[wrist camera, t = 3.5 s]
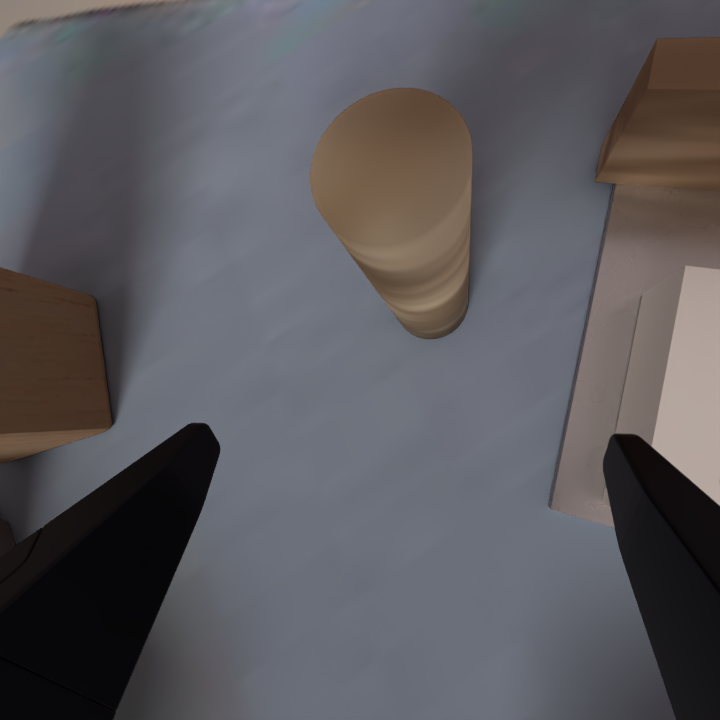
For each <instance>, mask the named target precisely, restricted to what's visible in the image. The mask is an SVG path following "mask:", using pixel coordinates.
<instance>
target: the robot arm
mask: <svg viewBox="0 0 720 720" xmlns="http://www.w3.org/2000/svg"><path fill="white" fill-rule="evenodd" d="M219 454H220V444H219V442H218V441H217V439H216V437H215V435H214V434H213V432H212V430H211V429H210V427H209V426H208V425H207V424H206V423H190V424H188V425H187V426H185V427H184V428H182V429H181V430H180V431H178V432H177V433H175V434H174V435H172V436H171V437H170V438H168V439H167V440H165V441H164V442H163V443H161V444H160V445H158V446H157V447H155V448H154V449H153V450H151V451H150V452H148V453H147V454H145V455H144V456H143V457H141V458H140V459H138V460H137V461H136V462H134V463H133V464H131V465H130V466H128V467H127V468H126V469H124V470H123V471H121V472H120V473H118V474H117V475H116V476H114V477H113V478H111V479H110V480H109V481H107V482H106V483H104V484H103V485H101V486H100V487H99V488H97V489H96V490H94V491H93V492H91V493H90V494H89V495H87V496H86V497H84V498H83V499H82V500H80V501H79V502H77V503H76V504H74V505H73V506H72V507H70V508H69V509H67V510H66V511H64V512H63V513H62V514H60V515H59V516H57V517H56V518H55V519H53V520H52V521H50V522H49V523H47V524H46V525H45V526H44V527H43V528H40V529H39V530H37V531H36V532H35V533H33V534H32V535H30V536H29V537H28V538H26V539H25V540H23V541H22V542H20V543H19V544H17V545H16V546H15V547H13V548H12V549H10V550H9V551H7V552H6V553H4V554H3V555H1V556H0V720H113V718H114V716H115V713H116V711H115V710H117V708H118V706H119V703H120V701H121V699H122V696H123V694H124V692H125V689H126V687H127V685H128V682H129V680H130V678H131V675H132V673H133V671H134V668H135V666H136V664H137V661H138V659H139V656H140V654H141V652H142V649H143V647H144V645H145V642H146V640H147V638H148V635H149V633H150V631H151V628H152V626H153V624H154V621H155V619H156V617H157V614H158V612H159V610H160V607H161V605H162V602H163V600H164V598H165V595H166V593H167V591H168V588H169V586H170V584H171V581H172V579H173V577H174V574H175V572H176V570H177V567H178V565H179V563H180V560H181V558H182V556H183V553H184V551H185V548H186V546H187V544H188V541H189V539H190V537H191V534H192V532H193V530H194V527H195V525H196V523H197V520H198V518H199V515H200V513H201V510H202V508H203V505H204V502H205V499H206V496H207V492H208V489H209V486H210V483H211V480H212V477H213V473H214V470H215V467H216V464H217V461H218V458H219ZM603 473H604V478H605V483H606V488H607V493H608V498H609V503H610V507H611V512H612V517H613V522H614V527H615V532H616V536H617V541H618V545H619V549H620V552H621V555H622V559H623V562H624V565H625V568H626V571H627V574H628V577H629V580H630V583H631V586H632V589H633V592H634V595H635V598H636V601H637V604H638V607H639V610H640V613H641V616H642V619H643V622H644V625H645V628H646V631H647V634H648V637H649V640H650V643H651V646H652V649H653V652H654V655H655V658H656V661H657V664H658V667H659V670H660V673H661V676H662V679H663V682H664V685H665V688H666V691H667V694H668V697H669V700H670V703H671V706H672V709H673V712H674V715H675V718H676V720H720V505H719V504H717V503H716V502H715V501H714V500H713V499H712V498H710V497H709V496H708V495H707V494H706V493H705V492H704V491H702V490H701V489H700V488H699V487H698V486H697V485H696V484H694V483H693V482H692V481H691V480H690V479H689V478H687V477H686V476H685V475H684V474H683V473H682V472H681V471H679V470H678V469H677V468H676V467H675V466H674V465H672V464H671V463H670V462H669V461H668V460H667V459H666V458H664V457H663V456H662V455H661V454H660V453H659V452H658V451H656V450H655V449H654V448H653V447H652V446H651V445H649V444H648V443H647V442H646V441H645V440H644V439H643V438H641V437H640V436H638V435H636V434H622V433H615V434H613V435H611V437H610V439H609V442H608V445H607V449H606V452H605V455H604V458H603Z"/></svg>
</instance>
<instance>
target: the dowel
mask: <svg viewBox="0 0 720 720" xmlns="http://www.w3.org/2000/svg"><path fill="white" fill-rule="evenodd" d="M310 184H311V192H312V195H313V199H314V202H315V204H316V206H317V209H318V210H319V212H320V213H321V215H322V217H323V218H324V219H325V221H326V222H327V223H328V225H329V226H330V227H331V229H332V230H333V232H334V233H335V234H336V236H337V237H338V238H339V240H340V241H341V242H342V244H343V245H344V247H345V248H346V249H347V251H348V252H349V253H350V255H351V256H352V258H353V259H354V260H355V262H356V263H357V264H358V266H359V267H360V268H361V270H362V271H363V273H364V274H365V275H366V277H367V278H368V279H369V281H370V282H371V283H372V285H373V286H374V288H375V289H376V290H377V292H378V293H379V294H380V296H381V297H382V298H383V300H384V301H385V303H386V304H387V305H388V307H389V308H390V309H391V311H392V312H393V313H394V315H395V316H396V318H397V319H398V320H399V322H400V323H401V324H402V326H403V327H404V328H405V329H406V330H407V331H408V332H409V333H411V334H412V335H414V336H417V337H420V338H424V339H437V338H441V337H444V336H446V335H448V334H450V333H452V332H453V331H454V330H456V329H457V328H458V327H459V325H460V324H461V323H462V321H463V320H464V318H465V315H466V313H467V308H468V285H469V253H470V220H471V187H472V142H471V137H470V133H469V130H468V128H467V125H466V123H465V121H464V119H463V118H462V116H461V115H460V113H459V112H458V111H457V110H456V109H455V108H454V107H453V106H452V105H451V104H450V103H449V102H448V101H446V100H445V99H443V98H441V97H440V96H438V95H436V94H433V93H431V92H428V91H424V90H421V89H414V88H395V89H388V90H384V91H379V92H377V93H374V94H371V95H369V96H366V97H364V98H362V99H360V100H359V101H357V102H355V103H354V104H352V105H351V106H349V107H348V108H347V109H345V110H344V111H343V112H342V113H341V114H340V115H339V116H338V117H336V118H335V120H334V121H333V122H332V123H331V124H330V125H329V127H328V128H327V129H326V131H325V132H324V134H323V135H322V137H321V139H320V141H319V143H318V145H317V148H316V150H315V153H314V156H313V160H312V164H311V171H310Z"/></svg>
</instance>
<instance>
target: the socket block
mask: <svg viewBox="0 0 720 720" xmlns="http://www.w3.org/2000/svg"><path fill="white" fill-rule="evenodd" d="M616 433H622V434H636V435H638V436H640V437H641V438H643V439H644V440H645V441H646V442H647V443H648V444H649V445H651V446H652V447H653V448H654V449H655V450H656V451H658V452H659V453H660V454H661V455H662V456H663V457H664V458H666V459H667V460H668V461H669V462H670V463H671V464H672V465H674V466H675V467H676V468H677V469H678V470H679V471H681V472H682V473H683V474H684V475H685V476H686V477H687V478H689V479H690V480H691V481H692V482H693V483H694V484H696V485H697V486H698V487H699V488H700V489H701V490H702V491H704V492H705V493H706V494H707V495H708V496H709V497H710V498H712V499H713V500H714V501H715V502H716V503H717V504H719V505H720V270H719V269H710V268H702V267H693V266H684V267H683V268H681V269H680V270H678V271H677V272H675V273H674V274H672V275H671V276H669V277H668V278H666V279H664V280H663V281H661V282H660V283H658V284H657V285H655V286H654V287H652V288H651V289H649V290H648V291H646V292H645V293H643V294H642V299H641V304H640V309H639V314H638V319H637V325H636V330H635V335H634V340H633V345H632V350H631V356H630V361H629V366H628V371H627V376H626V381H625V387H624V392H623V397H622V402H621V407H620V412H619V418H618V423H617V428H616ZM602 502H603V503H605V504H606V505H608V506H609V507H610V503H609V498H608V493H607V488H606V485H605V490H604V495H603V500H602Z"/></svg>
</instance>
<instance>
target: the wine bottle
mask: <svg viewBox="0 0 720 720" xmlns="http://www.w3.org/2000/svg"><path fill="white" fill-rule="evenodd" d="M13 547H15V542H14V539H13V536H12V533H11V530H10V526H9V523H8V522H5V521H3V520H1V519H0V556H1V555H3V554H4V553H6V552H7V551H9V550H10V549H12V548H13Z"/></svg>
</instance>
